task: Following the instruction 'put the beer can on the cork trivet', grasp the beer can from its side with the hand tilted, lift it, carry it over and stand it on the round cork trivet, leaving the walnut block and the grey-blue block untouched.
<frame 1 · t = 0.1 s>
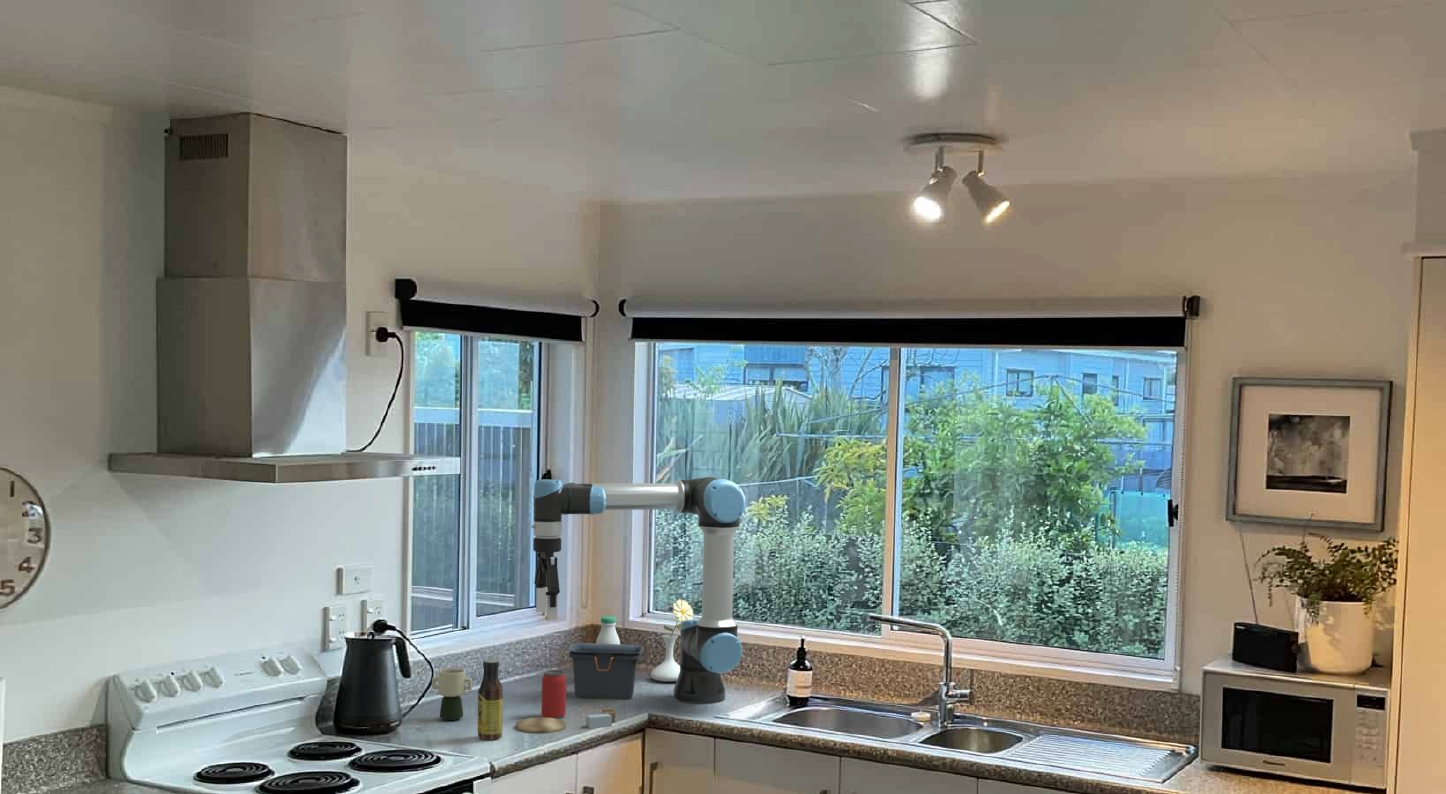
hand: (546, 615, 371), 28 cm above the worktop, tool pointing down, fingers open, 13 cm apart
beer can: (553, 716, 374), on the worktop
grey-blue block: (598, 726, 364), on the worktop
storage bin: (604, 697, 400), on the worktop
character mug: (451, 719, 369), on the worktop
flower in vase: (671, 680, 425), on the worktop
walnut block: (608, 721, 371), on the worktop
sauce bottle: (489, 738, 349), on the worktop
trivet: (540, 726, 362), on the worktop
milk bottle: (607, 683, 420), on the worktop
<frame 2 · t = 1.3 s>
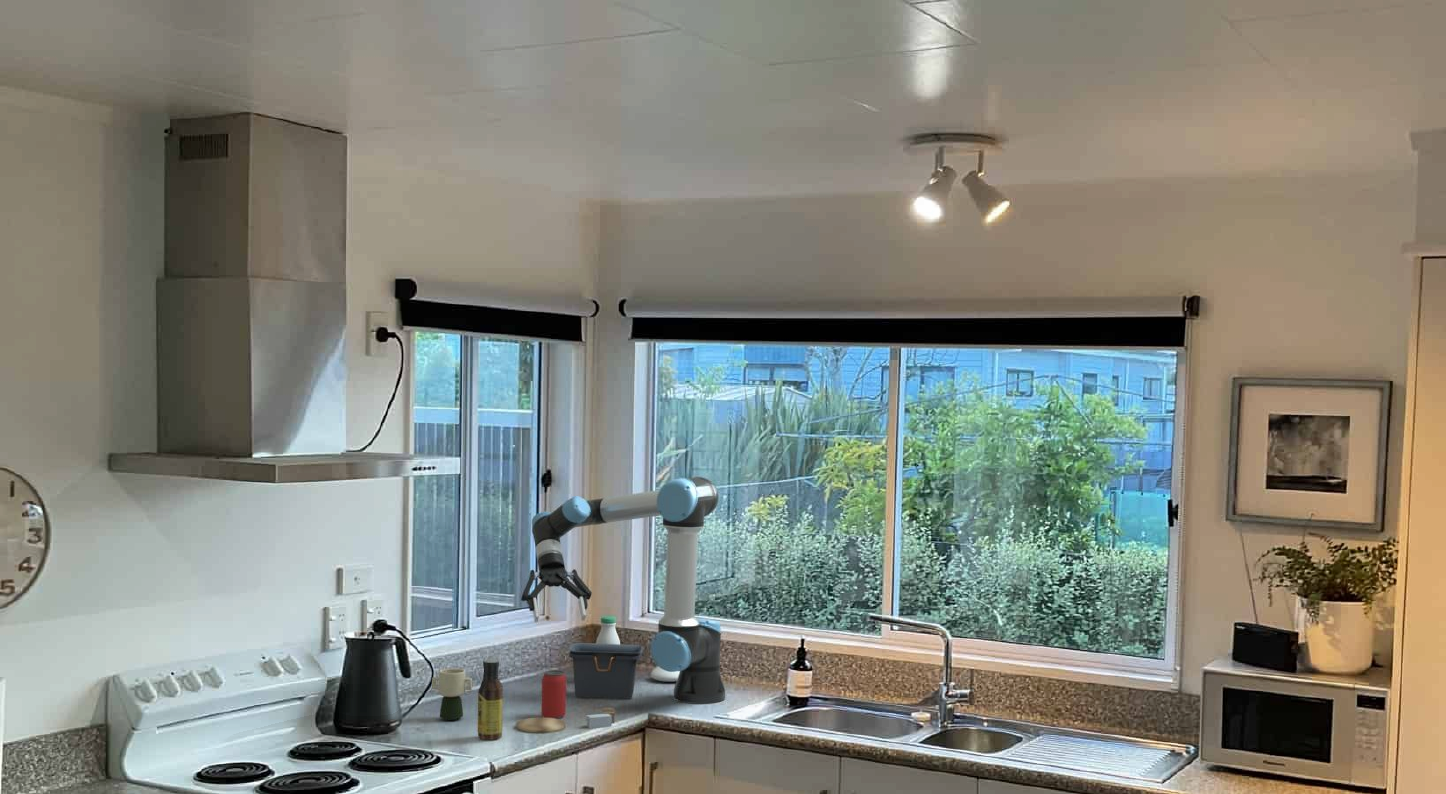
hand: (560, 618, 389), 24 cm above the worktop, tool tilted 45°, fingers open, 13 cm apart
nothing on the worktop moved.
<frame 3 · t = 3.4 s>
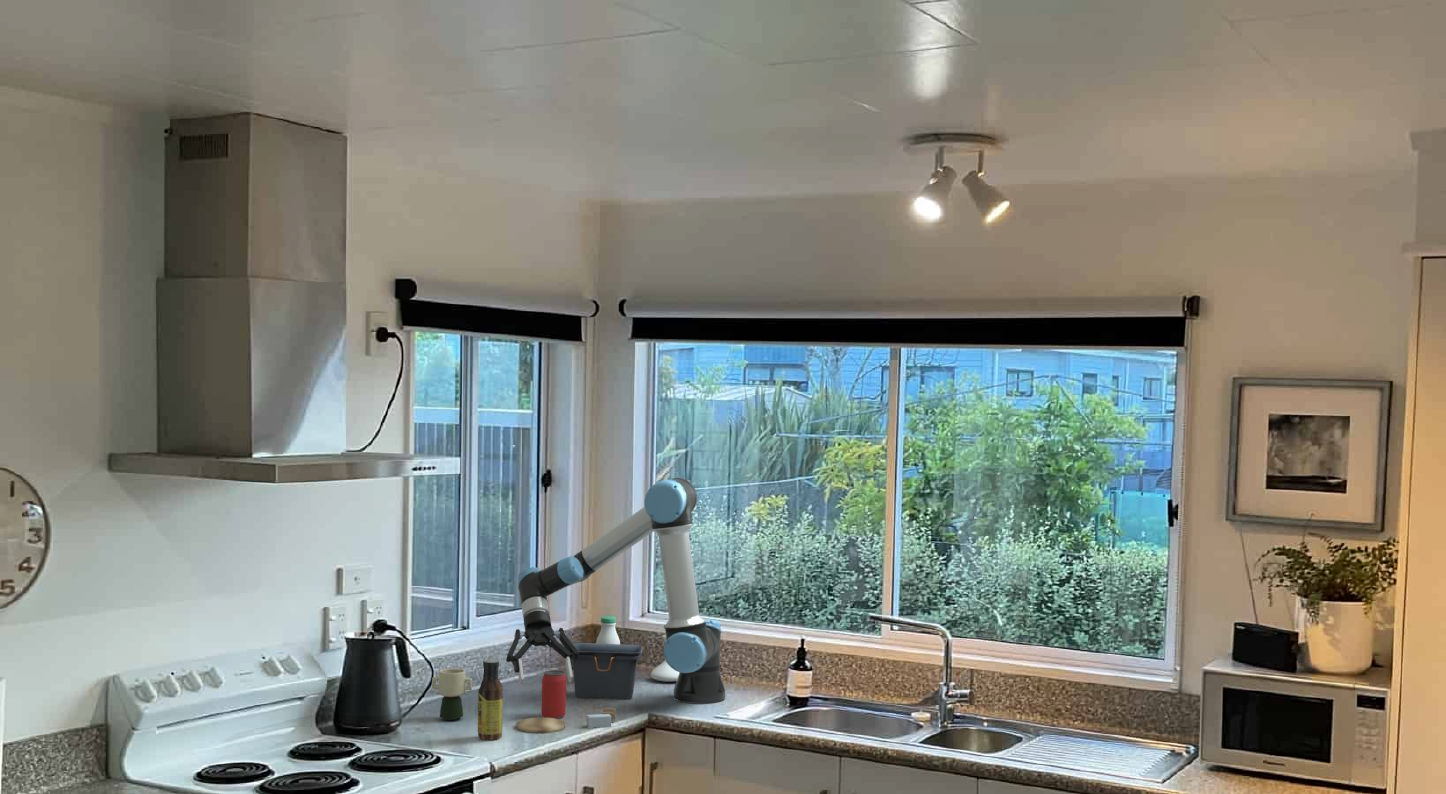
hand: (546, 680, 378), 9 cm above the worktop, tool tilted 45°, fingers open, 13 cm apart
nothing on the worktop moved.
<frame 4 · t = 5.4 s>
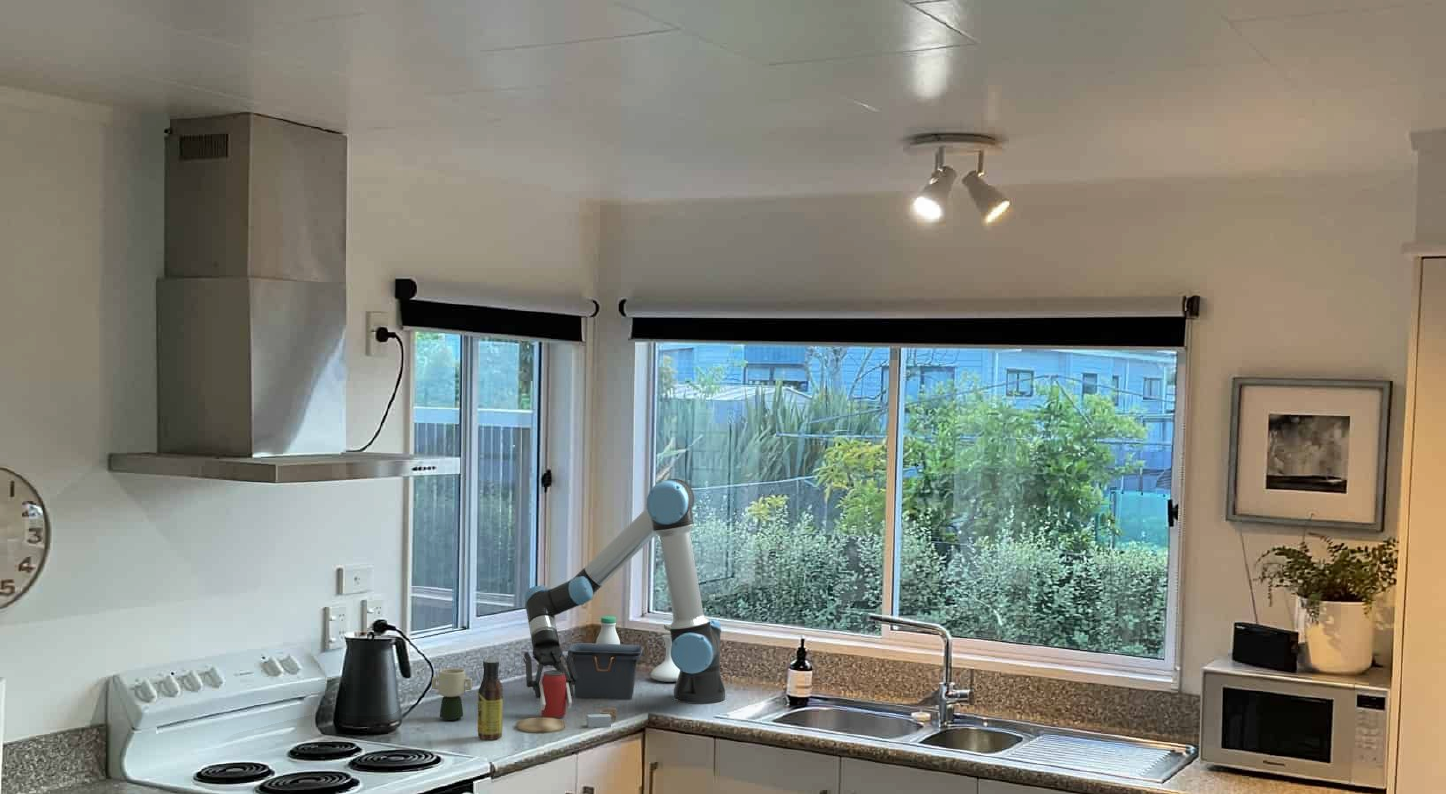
hand: (556, 706, 371), 3 cm above the worktop, tool tilted 45°, fingers closed on beer can, 6 cm apart
beer can: (553, 716, 374), on the worktop, touching gripper
everything else where it was.
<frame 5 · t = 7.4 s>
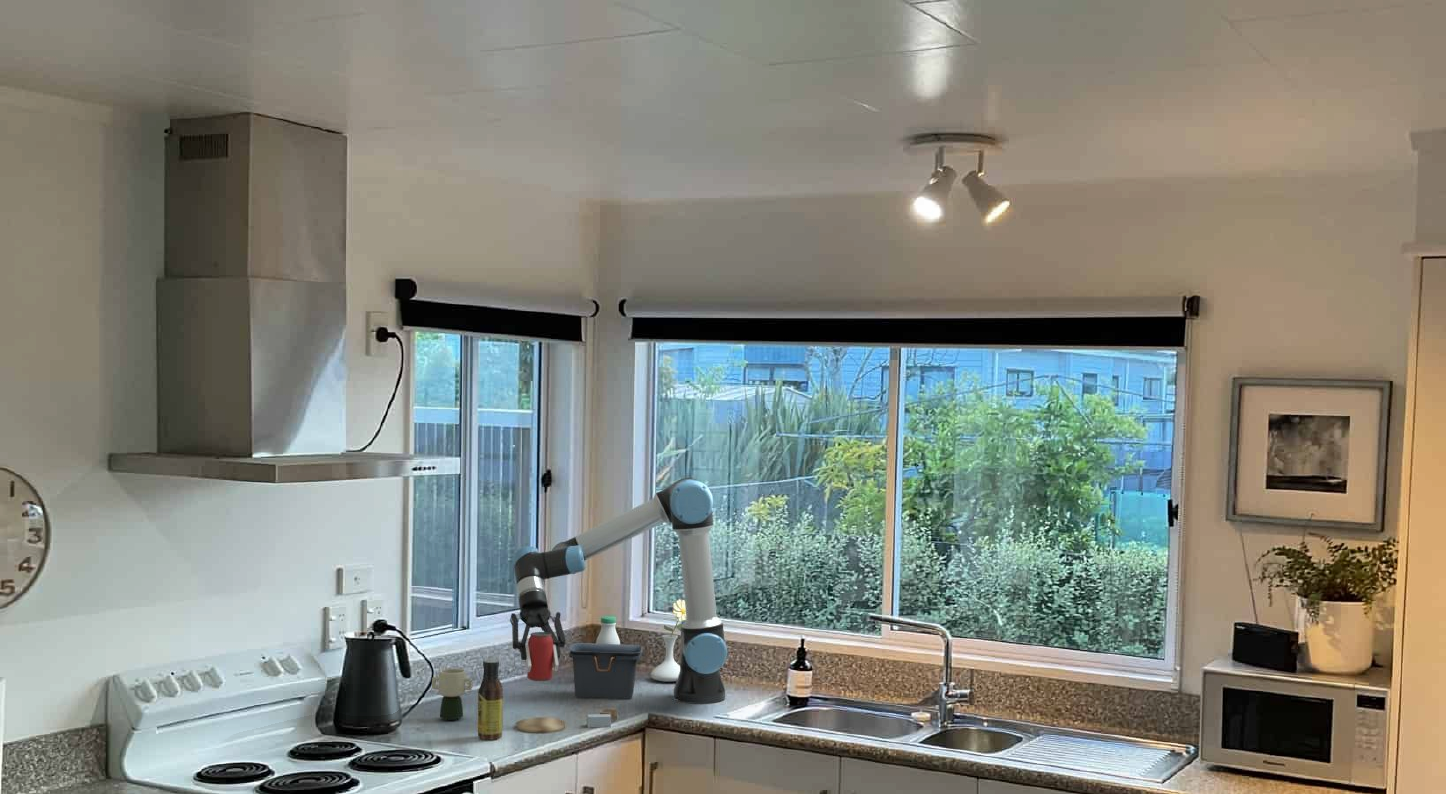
hand: (542, 668, 360), 16 cm above the worktop, tool tilted 45°, fingers closed on beer can, 6 cm apart
beer can: (539, 679, 364), point 12 cm above the worktop, touching gripper
everything else where it was.
when the fingers open (6 cm above the worktop, at t = 9.7 s): beer can drops 1 cm, resting on trivet.
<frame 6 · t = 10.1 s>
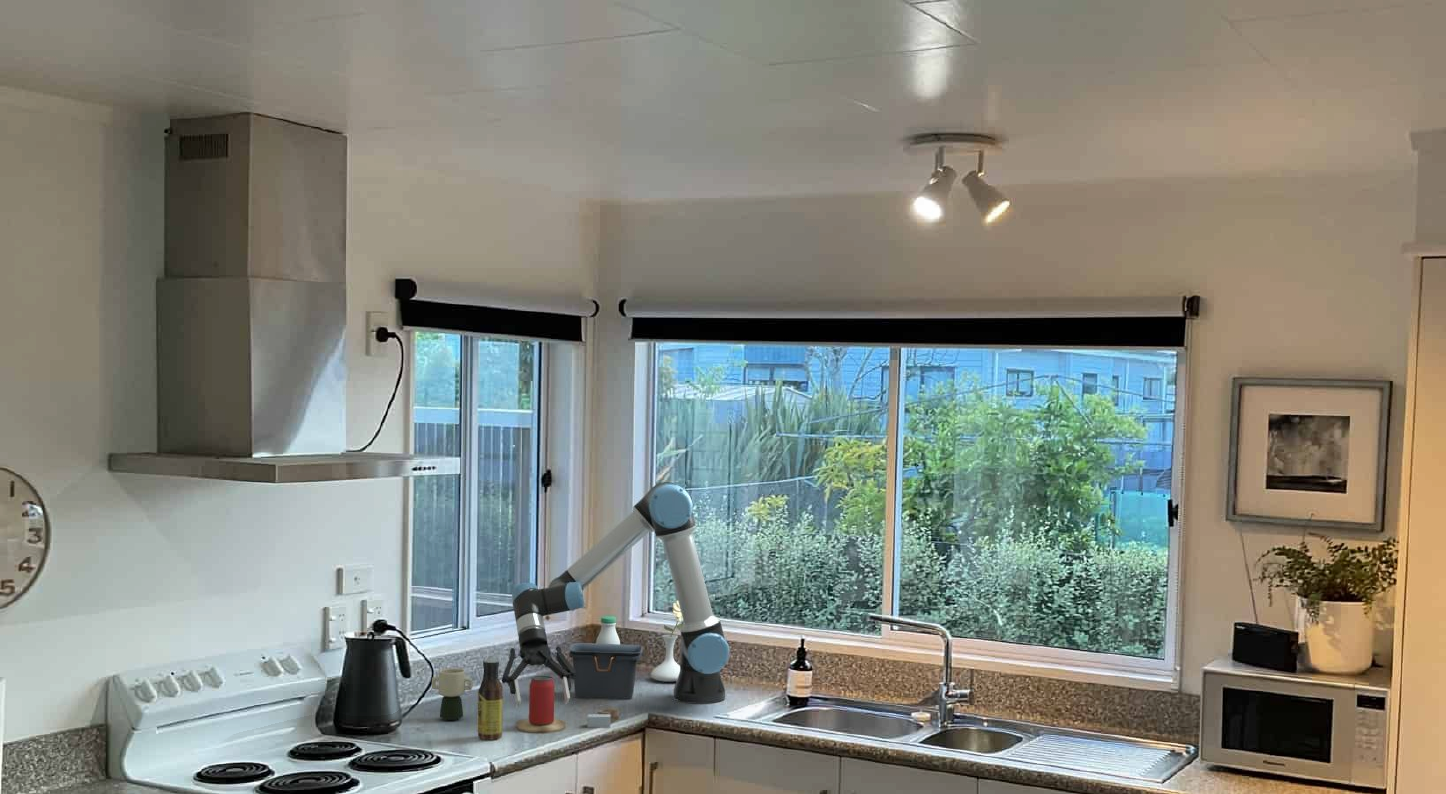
hand: (543, 702, 360), 7 cm above the worktop, tool tilted 45°, fingers open, 12 cm apart
beer can: (541, 723, 362), point 1 cm above the worktop, touching trivet
everything else where it was.
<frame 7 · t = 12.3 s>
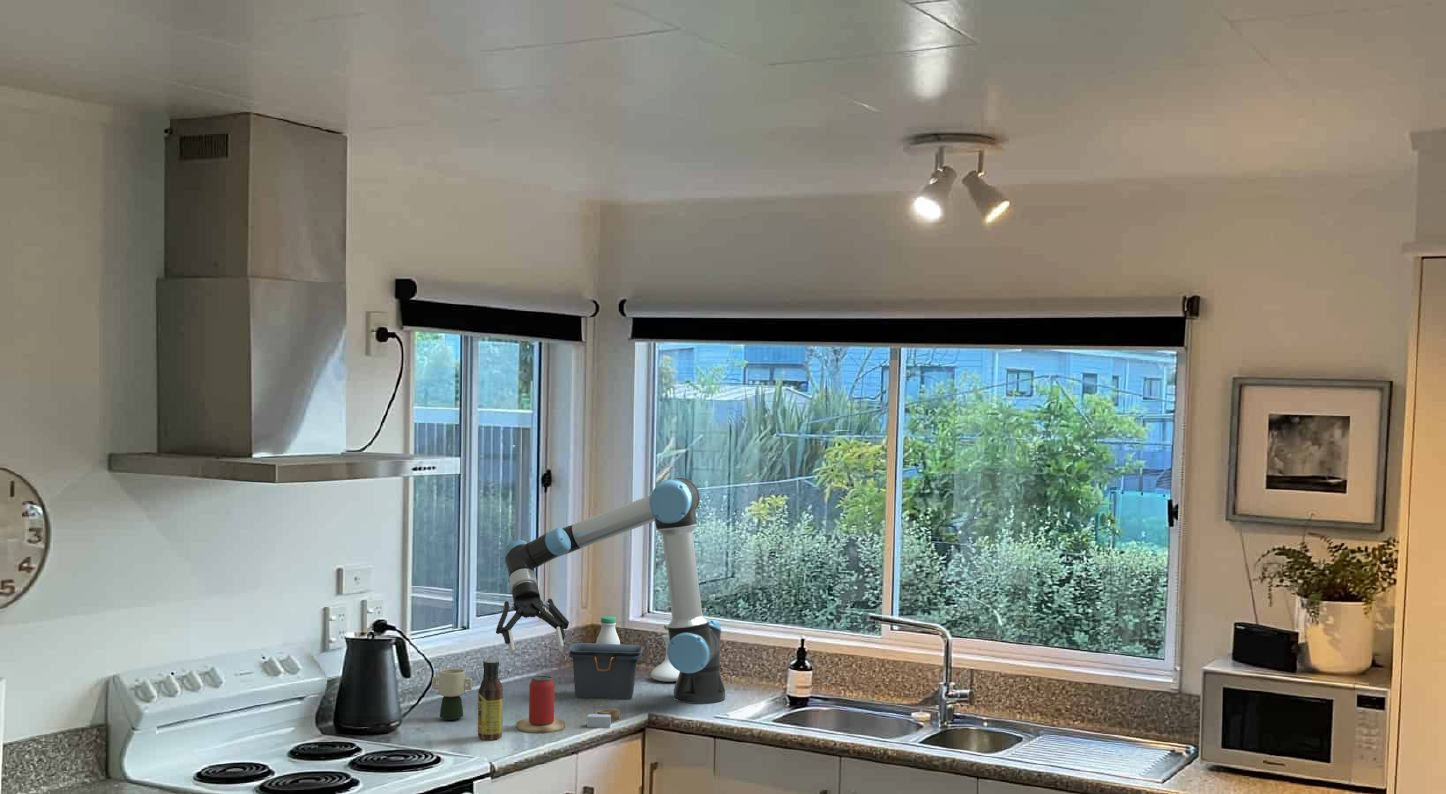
hand: (537, 650, 376), 17 cm above the worktop, tool tilted 45°, fingers open, 13 cm apart
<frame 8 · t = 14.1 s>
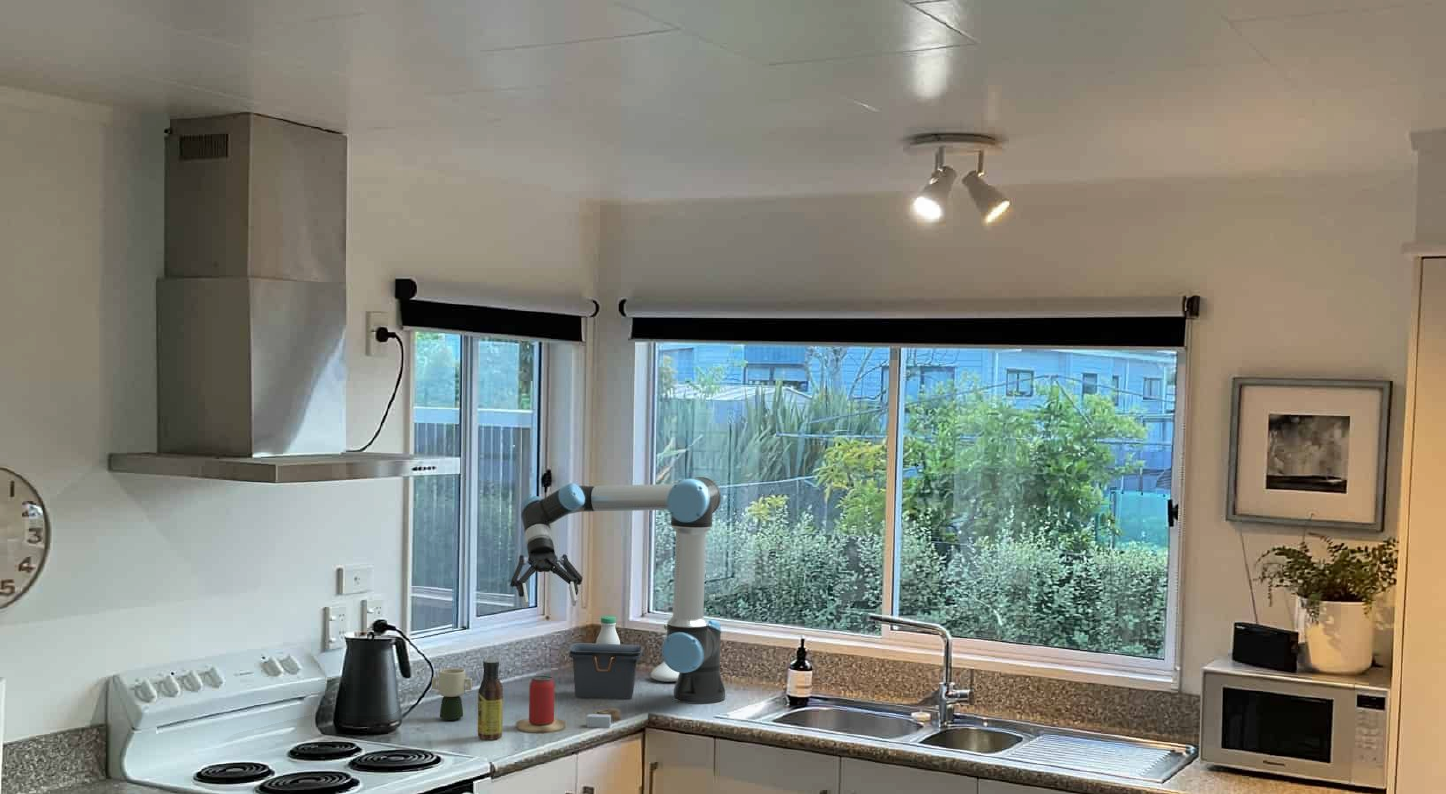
hand: (550, 604, 380), 30 cm above the worktop, tool tilted 45°, fingers open, 13 cm apart
at the end: beer can inside the target area on the trivet (0.2 cm from its centre), point 0.8 cm above the trivet's base; walnut block moved 0.2 cm from its start; grey-blue block moved 0.2 cm from its start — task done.
